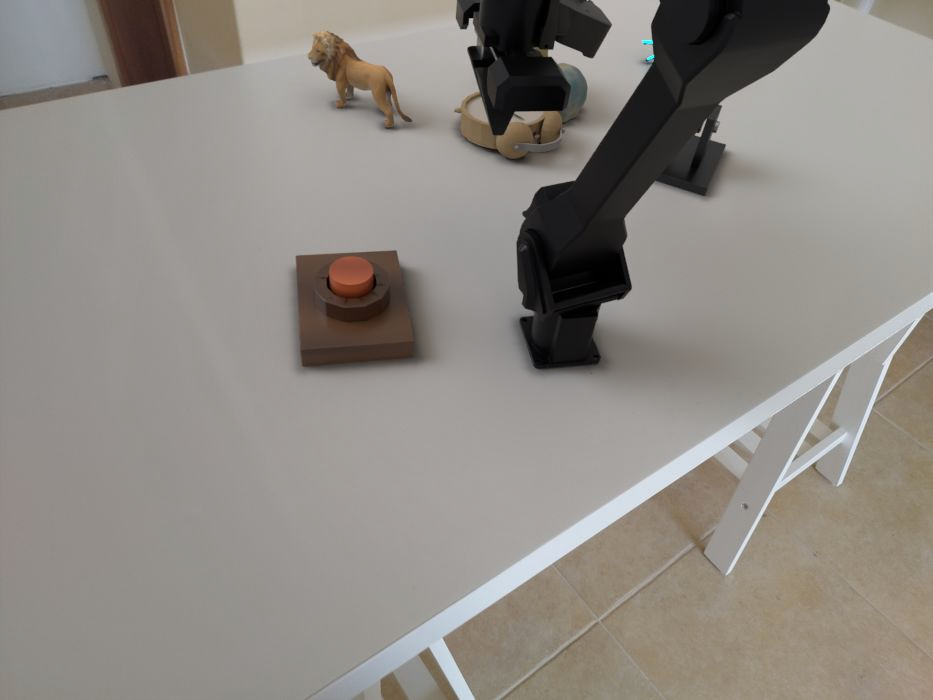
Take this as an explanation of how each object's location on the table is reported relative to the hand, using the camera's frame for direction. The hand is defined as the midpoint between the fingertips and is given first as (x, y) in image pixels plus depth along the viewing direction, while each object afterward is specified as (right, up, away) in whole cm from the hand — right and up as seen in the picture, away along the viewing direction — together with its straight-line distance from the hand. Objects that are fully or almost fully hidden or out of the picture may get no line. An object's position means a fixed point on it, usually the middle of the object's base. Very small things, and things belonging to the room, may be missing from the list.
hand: (497, 133), depth 71 cm
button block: (-14, -17, 0) cm, 22 cm away
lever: (+22, +4, +14) cm, 27 cm away
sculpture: (+7, +14, +33) cm, 36 cm away
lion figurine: (-17, +11, +27) cm, 34 cm away
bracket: (+25, +3, +24) cm, 35 cm away
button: (-14, -15, -3) cm, 20 cm away
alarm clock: (+3, +7, +25) cm, 26 cm away
